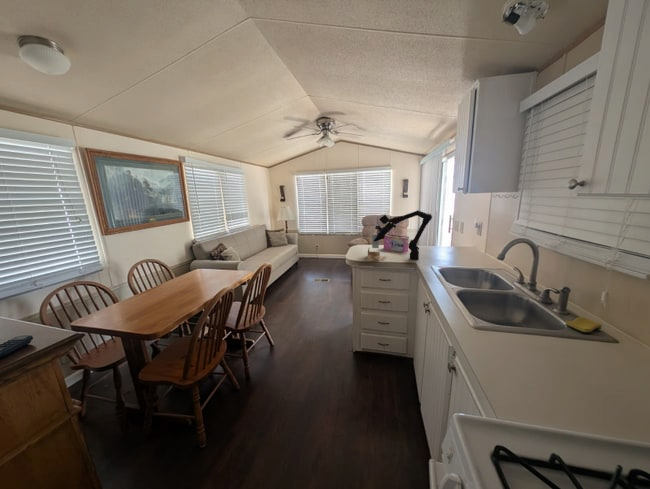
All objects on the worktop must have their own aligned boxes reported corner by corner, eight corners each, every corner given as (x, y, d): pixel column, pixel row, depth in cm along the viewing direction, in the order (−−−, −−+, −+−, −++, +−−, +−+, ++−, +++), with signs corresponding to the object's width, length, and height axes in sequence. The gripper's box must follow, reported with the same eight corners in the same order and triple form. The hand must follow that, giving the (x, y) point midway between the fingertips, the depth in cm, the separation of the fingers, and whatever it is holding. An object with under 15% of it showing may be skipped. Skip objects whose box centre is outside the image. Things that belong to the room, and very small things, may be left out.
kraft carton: (386, 257, 211) (386, 248, 209) (387, 261, 196) (387, 252, 195) (368, 256, 214) (368, 247, 212) (367, 261, 200) (367, 251, 198)
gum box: (382, 248, 243) (382, 235, 240) (386, 247, 248) (386, 233, 245) (404, 252, 226) (405, 237, 223) (408, 250, 231) (409, 236, 228)
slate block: (378, 246, 217) (378, 233, 214) (378, 248, 211) (378, 234, 209) (372, 246, 218) (372, 233, 215) (372, 248, 212) (372, 234, 210)
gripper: (380, 220, 218) (367, 232, 222) (380, 223, 200) (367, 236, 205) (389, 229, 218) (376, 240, 222) (390, 232, 200) (376, 245, 205)
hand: (374, 240), depth 214 cm, fingers closed on slate block, 5 cm apart
